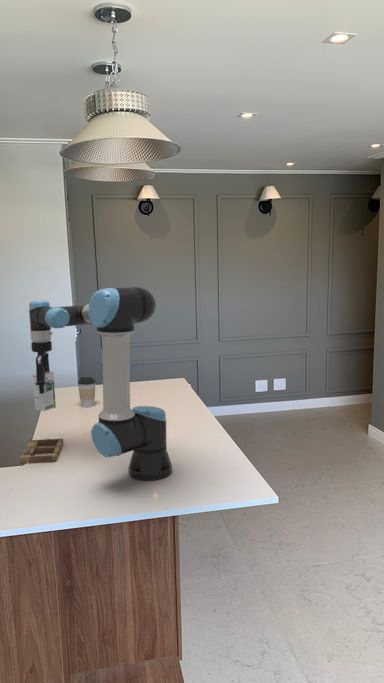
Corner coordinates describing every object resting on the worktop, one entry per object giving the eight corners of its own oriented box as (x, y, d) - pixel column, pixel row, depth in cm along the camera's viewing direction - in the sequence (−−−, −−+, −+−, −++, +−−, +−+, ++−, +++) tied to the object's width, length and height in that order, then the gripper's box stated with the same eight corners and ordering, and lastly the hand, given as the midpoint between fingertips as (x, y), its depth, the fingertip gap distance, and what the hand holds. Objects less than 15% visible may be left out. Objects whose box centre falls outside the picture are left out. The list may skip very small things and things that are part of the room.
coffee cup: (100, 404, 261) (98, 377, 258) (87, 409, 253) (86, 380, 251) (87, 402, 265) (86, 375, 263) (75, 406, 258) (73, 378, 256)
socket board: (56, 461, 183) (55, 454, 182) (20, 463, 181) (19, 456, 181) (63, 444, 201) (63, 437, 201) (30, 446, 200) (30, 439, 199)
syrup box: (44, 411, 189) (42, 374, 187) (34, 409, 192) (32, 373, 190) (56, 408, 194) (54, 372, 192) (45, 406, 197) (43, 370, 195)
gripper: (46, 344, 180) (50, 405, 183) (55, 337, 200) (58, 391, 203) (25, 345, 179) (29, 405, 182) (36, 337, 199) (39, 392, 202)
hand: (44, 398), depth 193 cm, fingers closed on syrup box, 8 cm apart
